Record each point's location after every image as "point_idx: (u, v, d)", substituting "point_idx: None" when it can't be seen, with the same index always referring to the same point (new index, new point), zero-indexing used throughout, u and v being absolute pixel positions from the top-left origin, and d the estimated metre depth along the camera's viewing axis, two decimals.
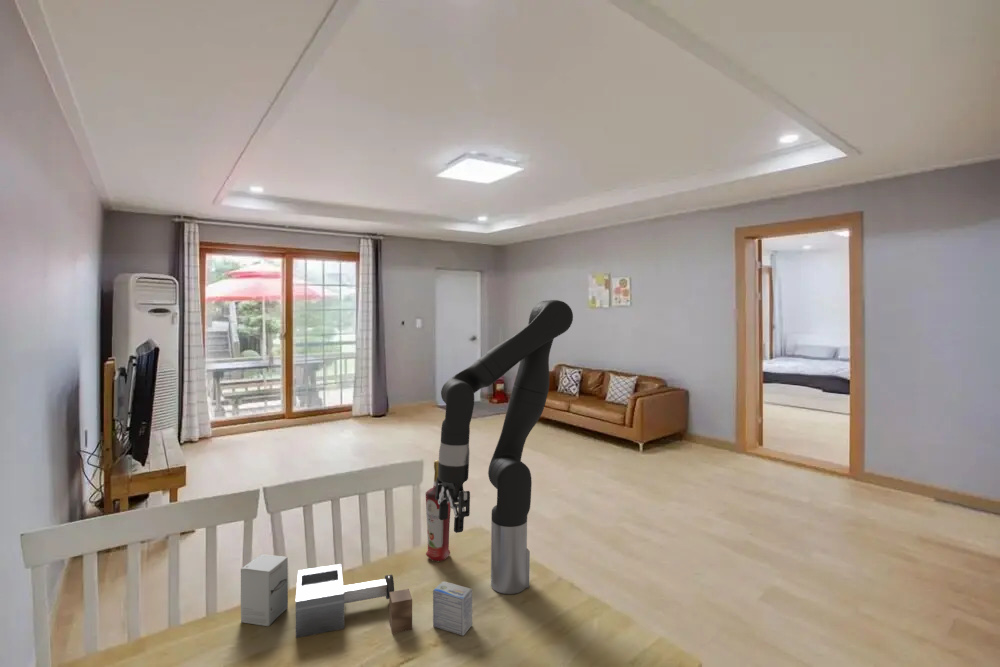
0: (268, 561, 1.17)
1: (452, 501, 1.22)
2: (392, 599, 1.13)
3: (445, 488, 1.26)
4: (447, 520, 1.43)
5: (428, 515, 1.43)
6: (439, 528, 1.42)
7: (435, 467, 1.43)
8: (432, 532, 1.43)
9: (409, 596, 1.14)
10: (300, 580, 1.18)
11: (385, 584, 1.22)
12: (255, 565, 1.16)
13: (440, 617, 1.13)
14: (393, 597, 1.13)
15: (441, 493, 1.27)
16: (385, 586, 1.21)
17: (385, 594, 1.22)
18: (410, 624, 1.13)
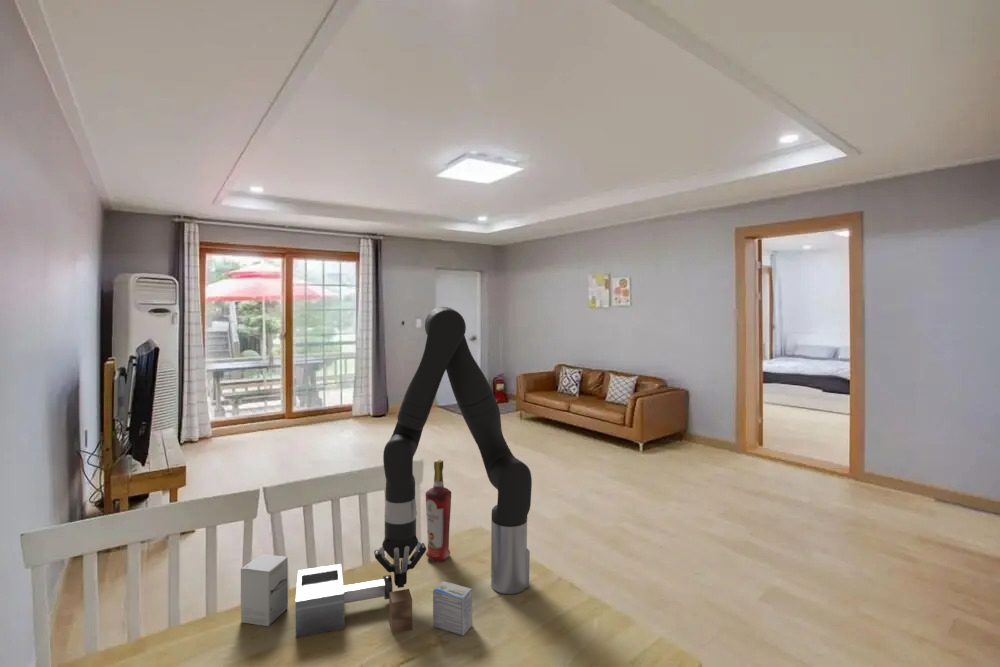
0: (268, 561, 1.17)
1: None
2: (392, 599, 1.13)
3: (397, 546, 1.22)
4: (447, 520, 1.43)
5: (428, 515, 1.43)
6: (439, 528, 1.42)
7: (435, 467, 1.43)
8: (432, 532, 1.43)
9: (409, 596, 1.14)
10: (300, 580, 1.18)
11: (383, 584, 1.22)
12: (255, 565, 1.16)
13: (440, 617, 1.13)
14: (393, 597, 1.13)
15: (396, 557, 1.22)
16: (383, 586, 1.21)
17: (383, 594, 1.21)
18: (410, 624, 1.13)
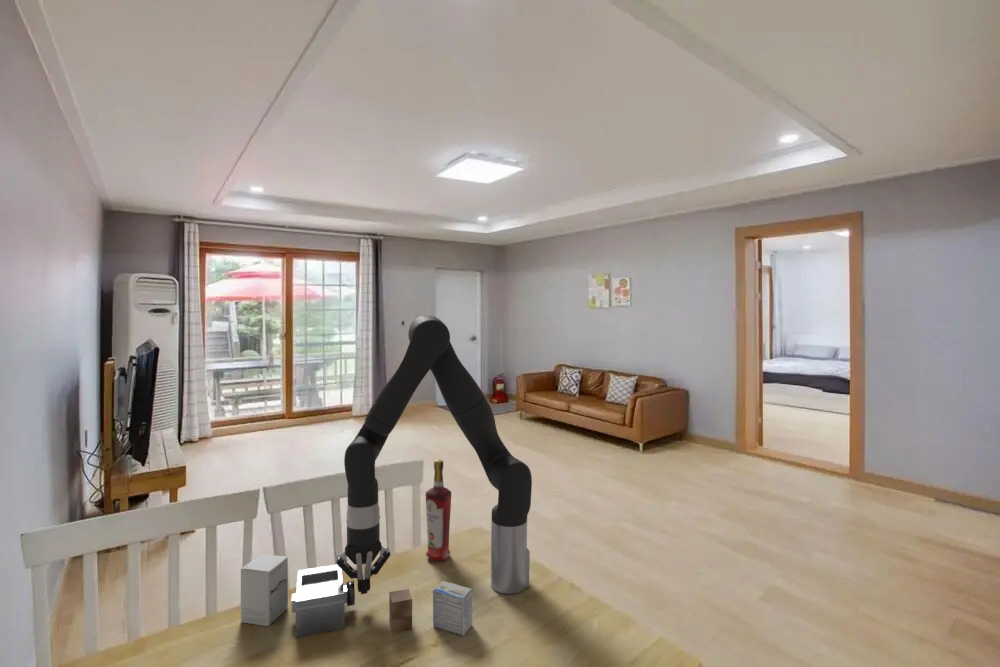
0: (268, 561, 1.17)
1: None
2: (392, 599, 1.13)
3: (359, 552, 1.19)
4: (447, 520, 1.43)
5: (428, 515, 1.43)
6: (439, 528, 1.42)
7: (435, 467, 1.43)
8: (432, 532, 1.43)
9: (409, 596, 1.14)
10: (300, 580, 1.18)
11: (346, 591, 1.19)
12: (255, 565, 1.16)
13: (440, 617, 1.13)
14: (393, 597, 1.13)
15: (358, 563, 1.19)
16: (346, 593, 1.18)
17: (346, 601, 1.18)
18: (410, 624, 1.13)
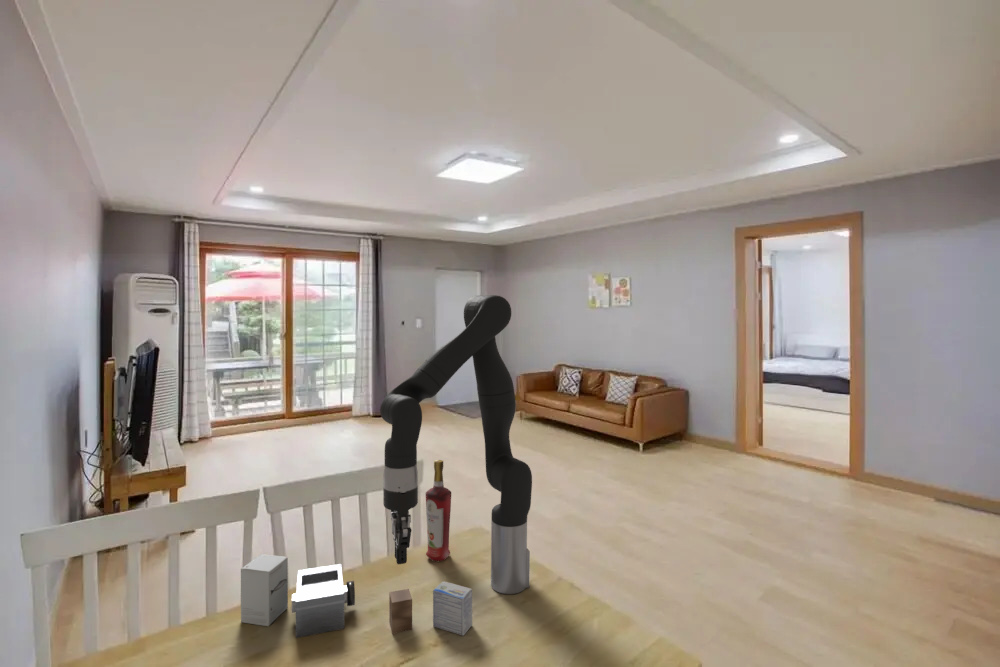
0: (268, 561, 1.17)
1: None
2: (392, 599, 1.13)
3: None
4: (447, 520, 1.43)
5: (428, 515, 1.43)
6: (439, 528, 1.42)
7: (435, 467, 1.43)
8: (432, 532, 1.43)
9: (409, 596, 1.14)
10: (300, 580, 1.18)
11: (346, 591, 1.19)
12: (255, 565, 1.16)
13: (440, 617, 1.13)
14: (393, 597, 1.13)
15: (409, 526, 1.12)
16: (346, 593, 1.18)
17: (346, 601, 1.18)
18: (410, 624, 1.13)
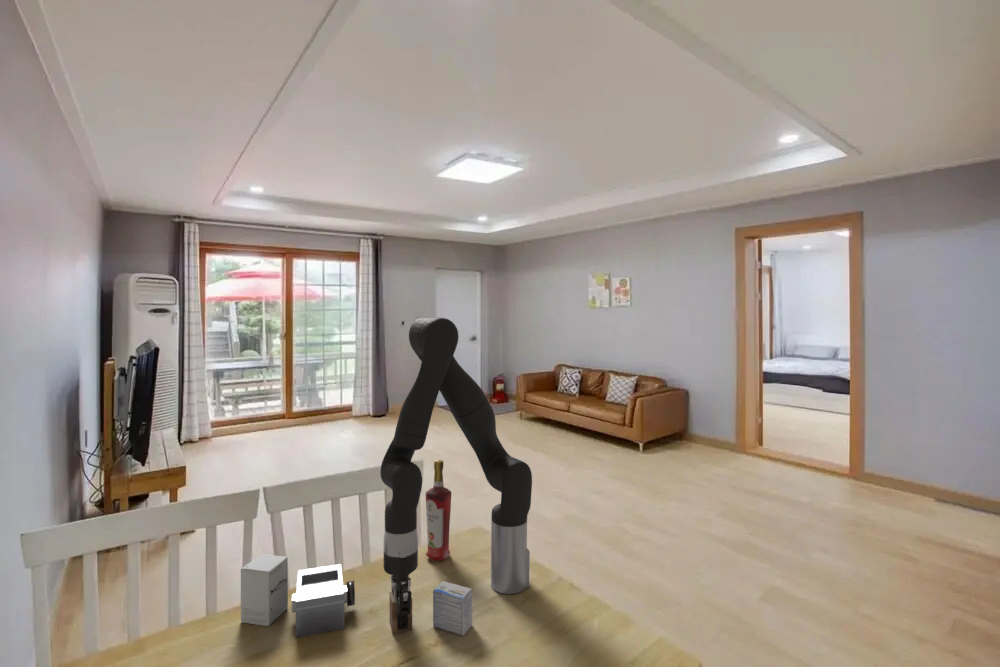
0: (268, 561, 1.17)
1: None
2: (392, 599, 1.13)
3: None
4: (447, 520, 1.43)
5: (428, 515, 1.43)
6: (439, 528, 1.42)
7: (435, 467, 1.43)
8: (432, 532, 1.43)
9: None
10: (300, 580, 1.18)
11: (346, 591, 1.19)
12: (255, 565, 1.16)
13: (440, 617, 1.13)
14: (393, 597, 1.13)
15: (409, 590, 1.13)
16: (346, 593, 1.18)
17: (346, 601, 1.18)
18: (410, 624, 1.13)
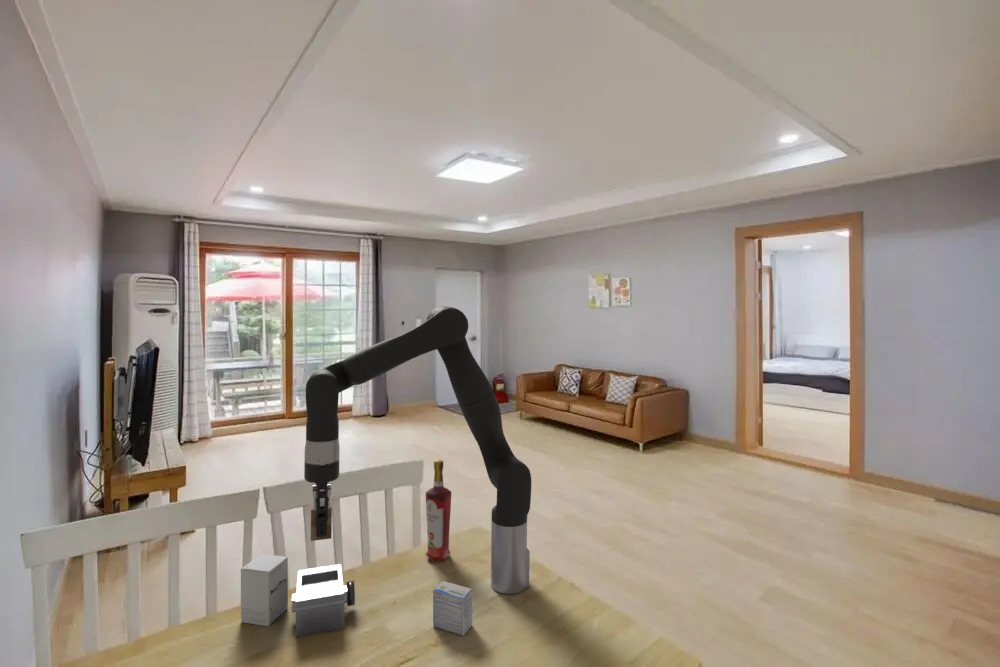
0: (268, 561, 1.17)
1: None
2: (312, 508, 1.15)
3: None
4: (447, 520, 1.43)
5: (428, 515, 1.43)
6: (439, 528, 1.42)
7: (435, 467, 1.43)
8: (432, 532, 1.43)
9: None
10: (300, 580, 1.18)
11: (346, 591, 1.19)
12: (255, 565, 1.16)
13: (440, 617, 1.13)
14: (313, 507, 1.15)
15: (329, 499, 1.15)
16: (346, 593, 1.18)
17: (346, 601, 1.18)
18: (329, 533, 1.15)
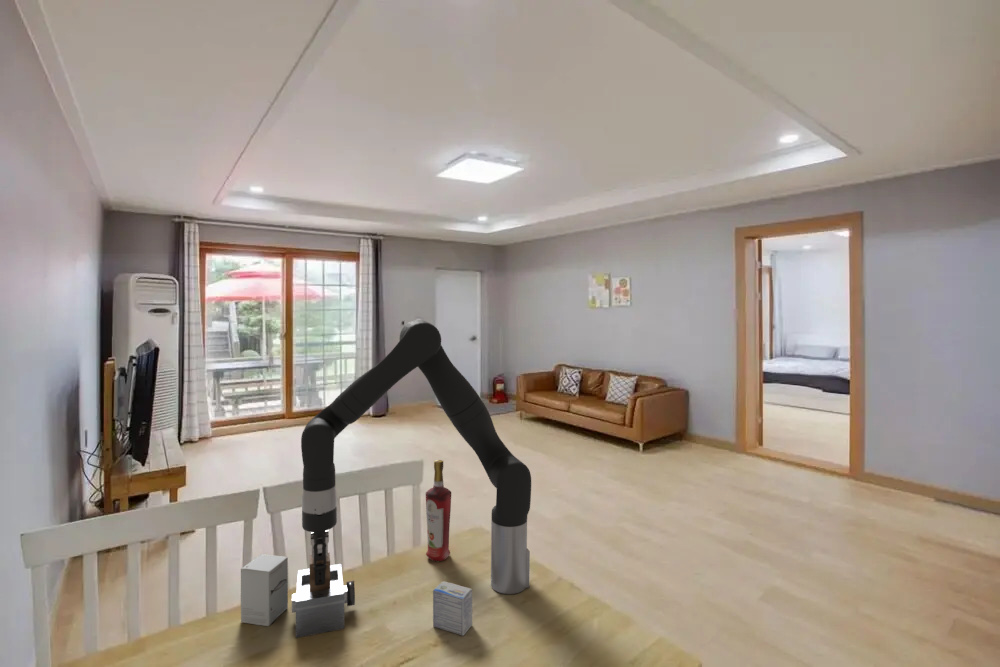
0: (268, 561, 1.17)
1: None
2: (310, 561, 1.16)
3: None
4: (447, 520, 1.43)
5: (428, 515, 1.43)
6: (439, 528, 1.42)
7: (435, 467, 1.43)
8: (432, 532, 1.43)
9: (328, 558, 1.17)
10: (300, 580, 1.18)
11: (346, 591, 1.19)
12: (255, 565, 1.16)
13: (440, 617, 1.13)
14: (311, 560, 1.16)
15: (327, 547, 1.16)
16: (346, 593, 1.18)
17: (346, 601, 1.18)
18: (328, 585, 1.16)
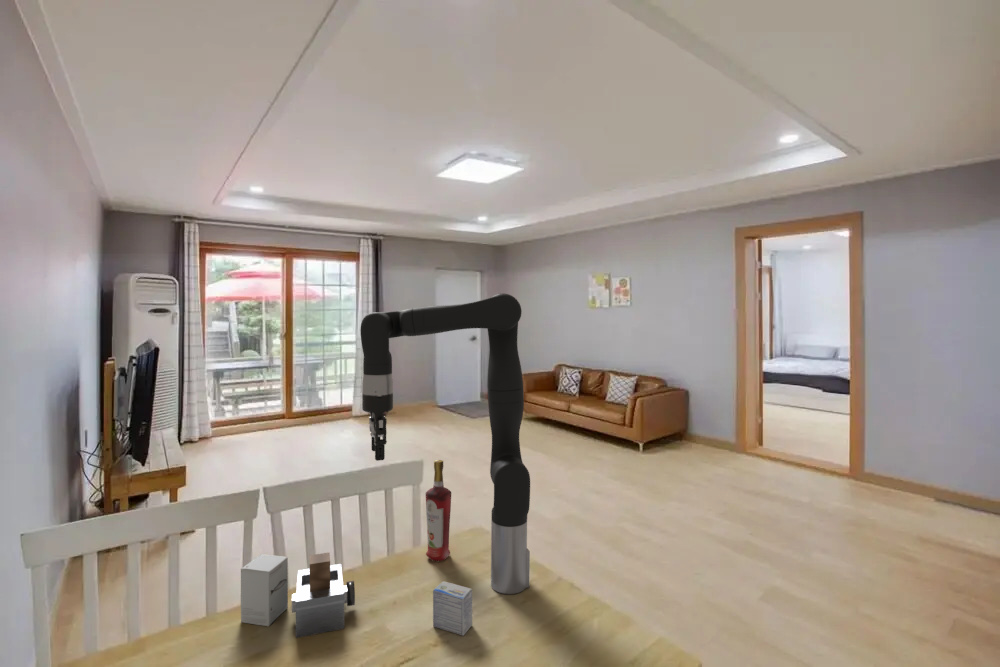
0: (268, 561, 1.17)
1: None
2: (310, 561, 1.16)
3: None
4: (447, 520, 1.43)
5: (428, 515, 1.43)
6: (439, 528, 1.42)
7: (435, 467, 1.43)
8: (432, 532, 1.43)
9: (328, 558, 1.17)
10: (300, 580, 1.18)
11: (346, 591, 1.19)
12: (255, 565, 1.16)
13: (440, 617, 1.13)
14: (311, 560, 1.16)
15: None
16: (346, 593, 1.18)
17: (346, 601, 1.18)
18: (328, 585, 1.16)
